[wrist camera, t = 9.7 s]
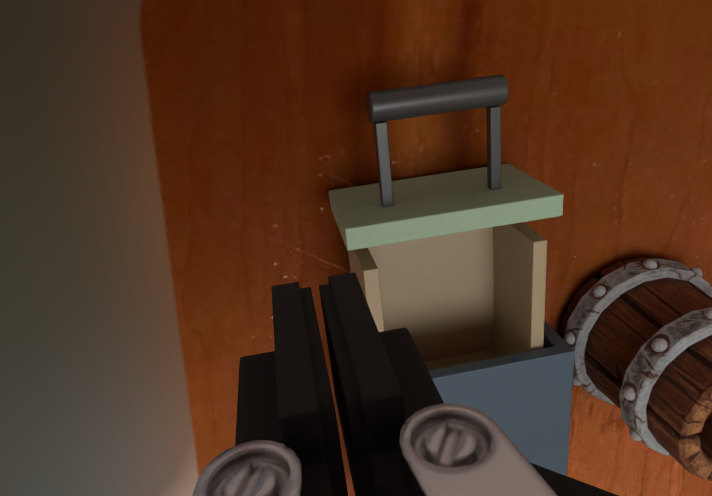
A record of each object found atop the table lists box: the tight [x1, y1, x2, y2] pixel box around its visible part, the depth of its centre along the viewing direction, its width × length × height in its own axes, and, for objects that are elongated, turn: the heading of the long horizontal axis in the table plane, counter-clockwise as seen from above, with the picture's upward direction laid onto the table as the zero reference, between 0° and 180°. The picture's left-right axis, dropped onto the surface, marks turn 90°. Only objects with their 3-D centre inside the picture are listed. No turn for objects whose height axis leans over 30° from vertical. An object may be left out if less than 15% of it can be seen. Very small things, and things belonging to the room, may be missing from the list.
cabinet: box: [429, 320, 575, 476], centre depth 37 cm, size 15×13×9 cm
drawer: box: [329, 75, 563, 371], centre depth 32 cm, size 20×11×7 cm, turn 6°
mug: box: [561, 257, 712, 481], centre depth 36 cm, size 12×14×15 cm
